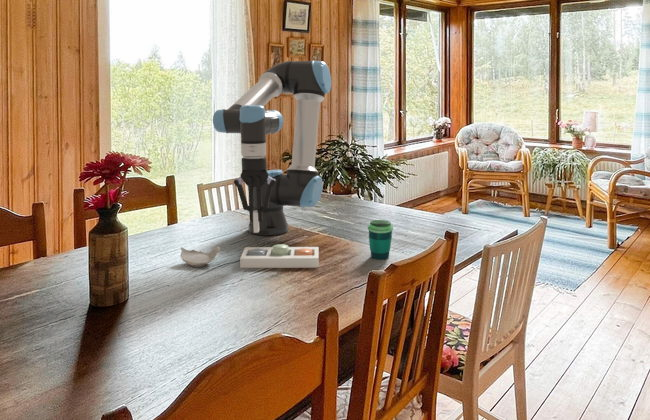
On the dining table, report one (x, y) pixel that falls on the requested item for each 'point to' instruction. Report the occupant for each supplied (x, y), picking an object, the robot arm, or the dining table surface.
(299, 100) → the robot arm
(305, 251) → the button terracotta
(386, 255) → the cup
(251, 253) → the button slate
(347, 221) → the dining table surface
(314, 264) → the panel
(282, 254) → the button sage
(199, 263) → the pottery shard
